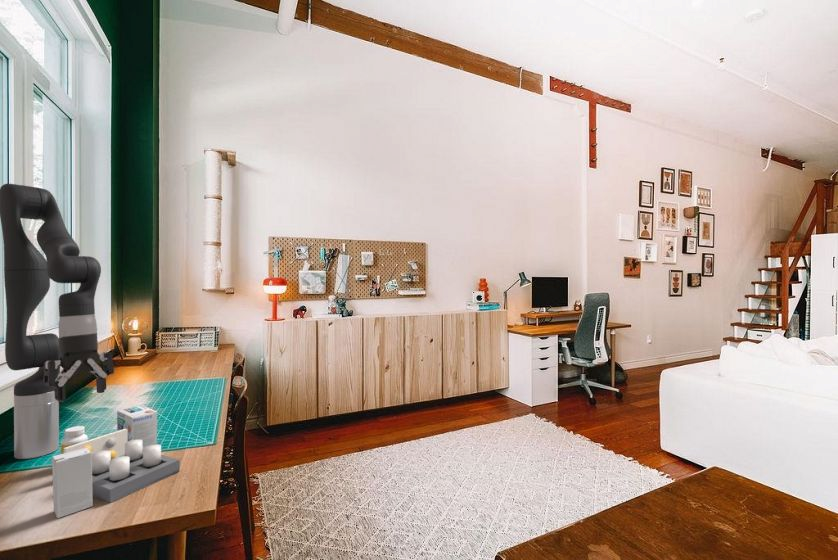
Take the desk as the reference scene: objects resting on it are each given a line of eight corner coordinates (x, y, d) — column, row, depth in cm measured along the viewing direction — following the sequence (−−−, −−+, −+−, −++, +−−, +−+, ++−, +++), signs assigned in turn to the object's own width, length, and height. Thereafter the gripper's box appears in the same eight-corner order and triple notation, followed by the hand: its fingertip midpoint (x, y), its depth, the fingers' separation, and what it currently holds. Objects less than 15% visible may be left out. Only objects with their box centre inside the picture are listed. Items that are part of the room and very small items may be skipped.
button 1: (87, 471, 98) (87, 455, 98) (105, 465, 101) (105, 449, 101) (96, 475, 96) (96, 458, 96) (114, 468, 100) (114, 452, 100)
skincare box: (88, 500, 91) (88, 445, 91) (93, 507, 88) (93, 451, 88) (51, 512, 87) (51, 455, 86) (55, 520, 84) (55, 461, 84)
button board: (70, 487, 97) (70, 474, 97) (140, 459, 111) (140, 448, 111) (110, 503, 90) (110, 489, 90) (179, 471, 105) (179, 459, 104)
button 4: (139, 464, 101) (139, 449, 101) (154, 458, 105) (154, 443, 105) (149, 467, 100) (149, 452, 100) (164, 461, 103) (164, 446, 103)
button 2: (105, 478, 95) (105, 461, 95) (123, 471, 98) (123, 455, 98) (115, 481, 93) (115, 464, 93) (133, 474, 97) (133, 458, 96)
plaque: (63, 480, 100) (63, 448, 100) (125, 457, 112) (125, 428, 112) (66, 481, 99) (66, 449, 99) (128, 458, 112) (128, 429, 112)
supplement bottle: (72, 471, 104) (72, 433, 104) (55, 469, 106) (55, 431, 105) (93, 462, 110) (92, 425, 110) (76, 460, 111) (76, 424, 111)
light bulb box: (116, 447, 119) (116, 410, 119) (142, 439, 125) (142, 404, 125) (131, 456, 113) (131, 417, 113) (158, 448, 119) (158, 411, 119)
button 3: (121, 459, 105) (121, 443, 105) (136, 453, 108) (136, 438, 108) (130, 461, 103) (130, 446, 103) (145, 455, 106) (145, 441, 106)
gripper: (101, 330, 113) (104, 389, 112) (35, 337, 100) (38, 404, 99) (117, 329, 110) (120, 390, 109) (52, 336, 97) (55, 405, 96)
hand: (81, 397), depth 104 cm, fingers open, 8 cm apart
